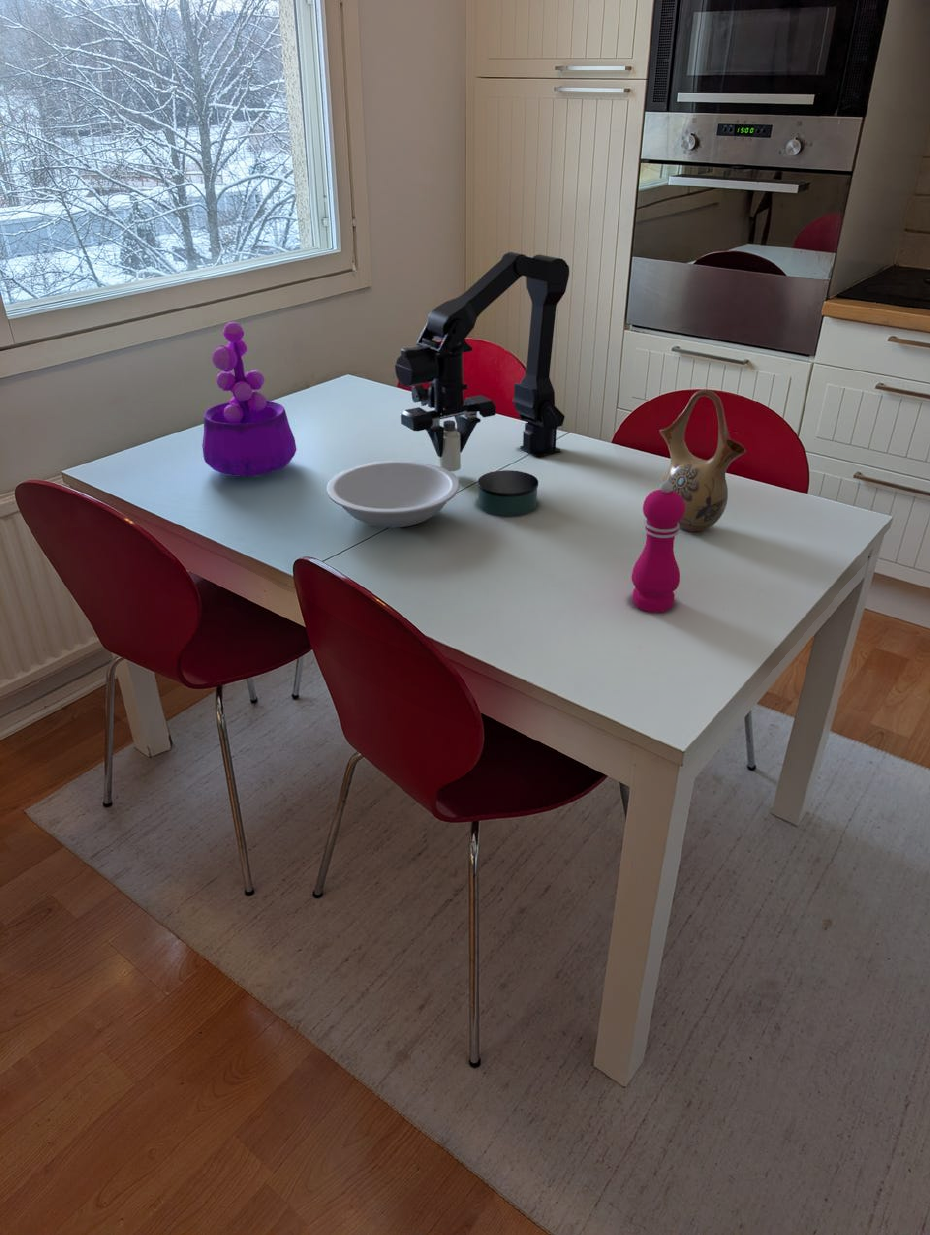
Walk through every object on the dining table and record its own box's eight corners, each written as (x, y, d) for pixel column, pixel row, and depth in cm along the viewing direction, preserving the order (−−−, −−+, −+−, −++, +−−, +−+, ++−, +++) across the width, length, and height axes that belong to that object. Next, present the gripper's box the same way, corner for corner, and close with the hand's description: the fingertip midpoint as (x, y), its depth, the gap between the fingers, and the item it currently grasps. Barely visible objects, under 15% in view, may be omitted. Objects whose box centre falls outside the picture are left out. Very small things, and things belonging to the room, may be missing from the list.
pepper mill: (624, 592, 140) (635, 472, 130) (669, 590, 140) (684, 470, 130) (635, 615, 134) (648, 492, 123) (682, 613, 134) (699, 490, 124)
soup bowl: (305, 535, 158) (302, 500, 155) (364, 485, 178) (362, 454, 174) (430, 555, 151) (429, 520, 148) (477, 501, 170) (477, 469, 167)
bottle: (453, 462, 183) (452, 417, 178) (464, 468, 180) (464, 423, 175) (435, 466, 181) (433, 421, 176) (446, 473, 178) (445, 427, 173)
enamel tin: (515, 488, 176) (515, 466, 174) (549, 507, 168) (550, 485, 165) (466, 500, 171) (466, 478, 169) (499, 521, 163) (499, 498, 160)
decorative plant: (269, 492, 175) (249, 337, 160) (188, 481, 180) (161, 329, 165) (313, 459, 190) (298, 314, 175) (237, 449, 195) (216, 308, 180)
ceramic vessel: (743, 533, 158) (767, 394, 145) (715, 549, 152) (737, 406, 140) (665, 506, 168) (681, 374, 155) (637, 521, 162) (651, 385, 150)
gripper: (467, 360, 181) (468, 434, 189) (385, 374, 173) (390, 451, 181) (497, 373, 173) (496, 450, 181) (413, 389, 165) (416, 468, 173)
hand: (449, 454), depth 179 cm, fingers closed on bottle, 4 cm apart
